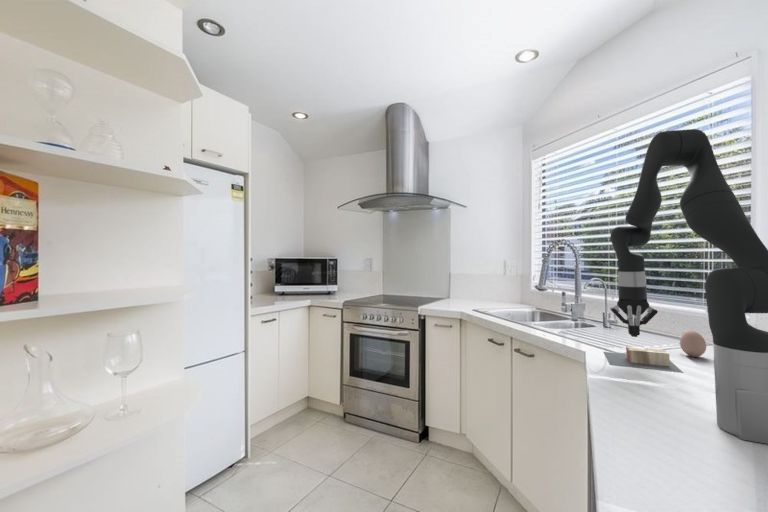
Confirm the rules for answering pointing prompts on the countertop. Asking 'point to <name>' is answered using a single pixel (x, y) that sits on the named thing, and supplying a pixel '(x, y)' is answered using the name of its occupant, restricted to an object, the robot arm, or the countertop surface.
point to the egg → (693, 343)
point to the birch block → (648, 356)
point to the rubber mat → (622, 360)
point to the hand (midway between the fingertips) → (634, 336)
